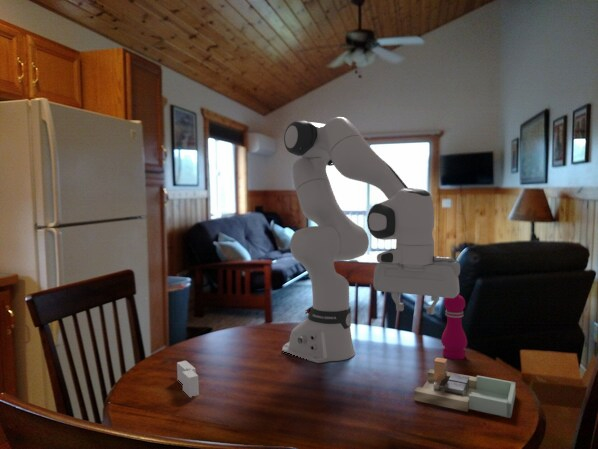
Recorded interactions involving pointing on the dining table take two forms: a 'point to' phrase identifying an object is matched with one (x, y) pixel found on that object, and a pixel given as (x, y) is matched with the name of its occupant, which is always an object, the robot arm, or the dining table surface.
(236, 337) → the dining table surface
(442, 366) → the block
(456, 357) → the pepper mill
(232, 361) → the dining table surface
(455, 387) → the chip
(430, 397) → the slot board
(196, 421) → the dining table surface
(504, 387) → the tray
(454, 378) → the dark grey block
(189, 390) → the white stepped block
